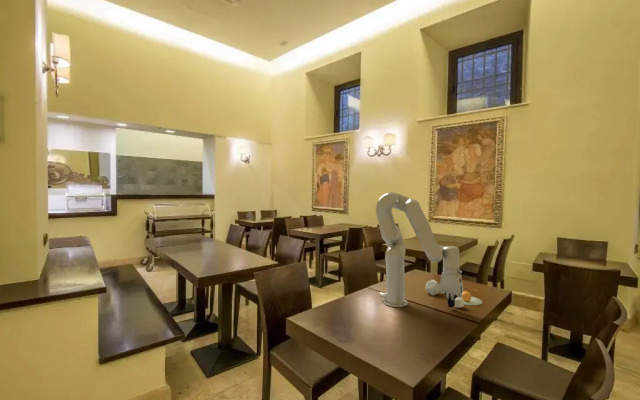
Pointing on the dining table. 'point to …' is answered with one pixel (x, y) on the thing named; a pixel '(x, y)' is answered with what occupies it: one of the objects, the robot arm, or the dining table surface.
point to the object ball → (466, 296)
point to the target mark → (474, 301)
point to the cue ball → (459, 302)
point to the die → (433, 287)
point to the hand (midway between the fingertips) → (451, 306)
